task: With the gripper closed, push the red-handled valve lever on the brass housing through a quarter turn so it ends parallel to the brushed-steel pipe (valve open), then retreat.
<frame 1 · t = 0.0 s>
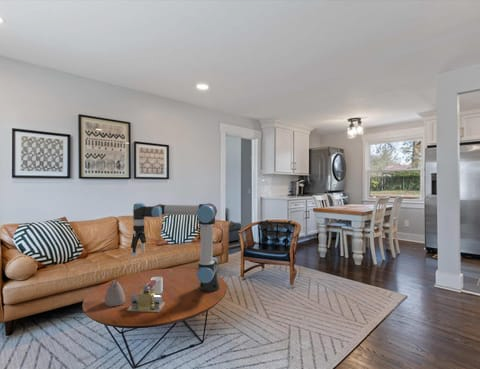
hand: (138, 254, 199), 28 cm above the table, fingers open, 13 cm apart
mug: (154, 293, 199), on the table
valve body: (146, 307, 178), on the table
sculpture: (115, 303, 184), on the table
lever: (149, 285, 183), point 12 cm above the table, hinge at 0.0°
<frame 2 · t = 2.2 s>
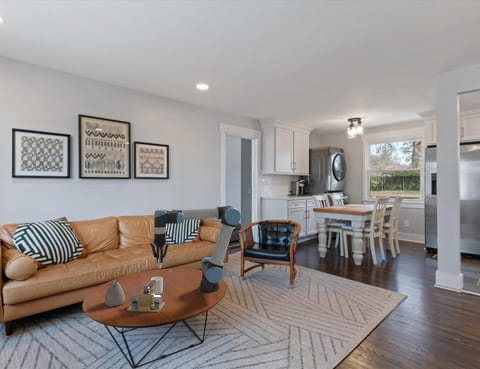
hand: (159, 267, 186), 23 cm above the table, fingers closed
nothing on the table moved.
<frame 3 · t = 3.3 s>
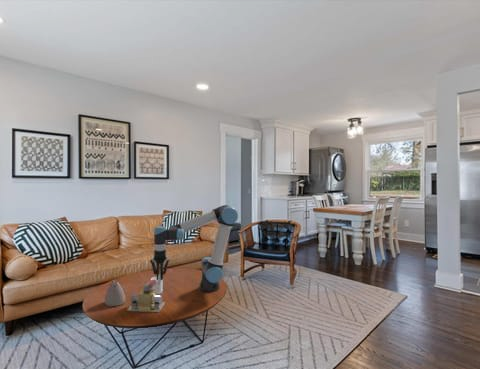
hand: (159, 284, 187), 11 cm above the table, fingers closed
nothing on the table moved.
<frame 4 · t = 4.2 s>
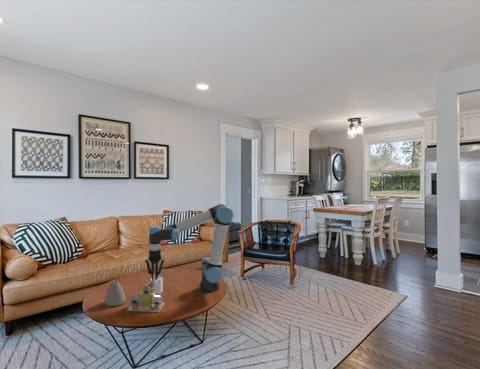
hand: (154, 284, 186), 12 cm above the table, fingers closed
lever: (149, 285, 183), point 12 cm above the table, hinge at 0.0°, touching gripper
everything else where it was.
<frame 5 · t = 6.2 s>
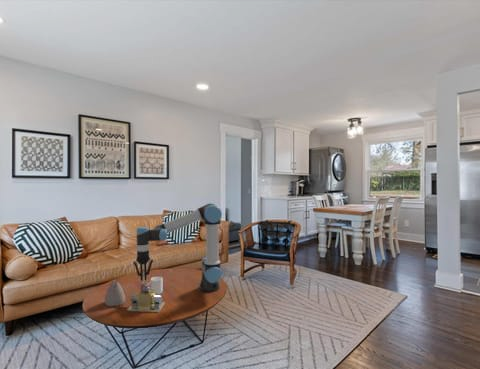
hand: (143, 285, 185), 11 cm above the table, fingers closed
lever: (142, 286, 182), point 12 cm above the table, hinge at 50.2°, touching gripper
everything else where it was.
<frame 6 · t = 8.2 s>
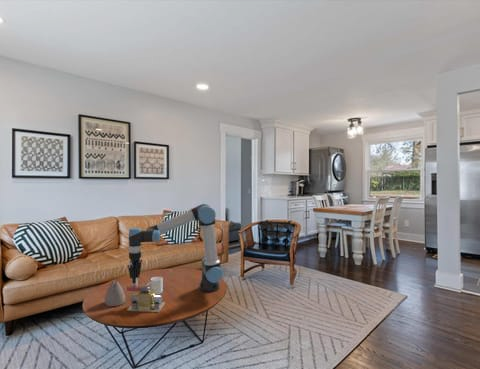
hand: (135, 287, 182), 11 cm above the table, fingers closed
lever: (138, 288, 179), point 12 cm above the table, hinge at 86.3°
everything else where it was.
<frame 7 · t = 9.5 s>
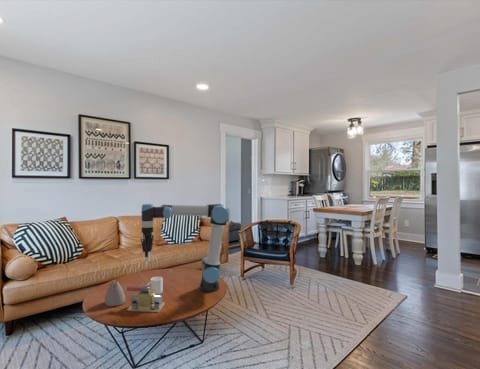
hand: (147, 261, 189), 26 cm above the table, fingers closed
nothing on the table moved.
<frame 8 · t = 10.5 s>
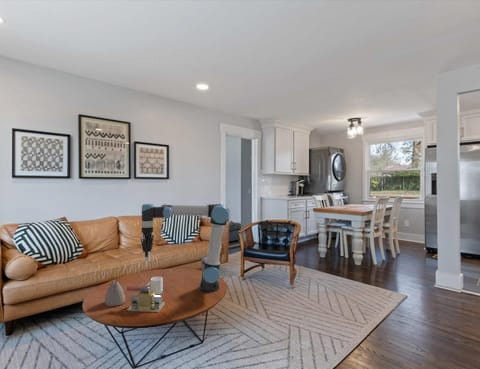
hand: (147, 261, 189), 26 cm above the table, fingers closed
nothing on the table moved.
at the end: lever at +86° (first picture: +0°) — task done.
